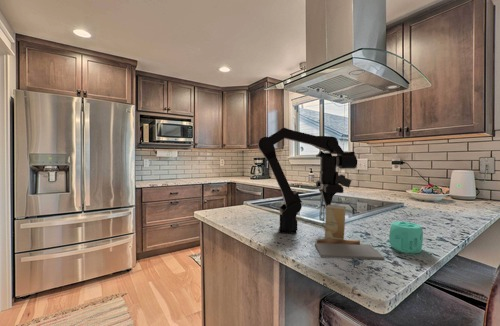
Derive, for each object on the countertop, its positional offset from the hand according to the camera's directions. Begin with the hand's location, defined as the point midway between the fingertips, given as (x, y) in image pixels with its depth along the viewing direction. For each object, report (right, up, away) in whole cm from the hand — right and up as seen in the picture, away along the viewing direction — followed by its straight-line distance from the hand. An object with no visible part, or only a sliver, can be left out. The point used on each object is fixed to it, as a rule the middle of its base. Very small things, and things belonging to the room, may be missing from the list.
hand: (327, 207), depth 95 cm
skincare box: (-1, -10, -10) cm, 14 cm away
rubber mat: (-1, -10, -20) cm, 22 cm away
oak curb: (-1, -10, -14) cm, 17 cm away
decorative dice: (+20, -10, -18) cm, 28 cm away
